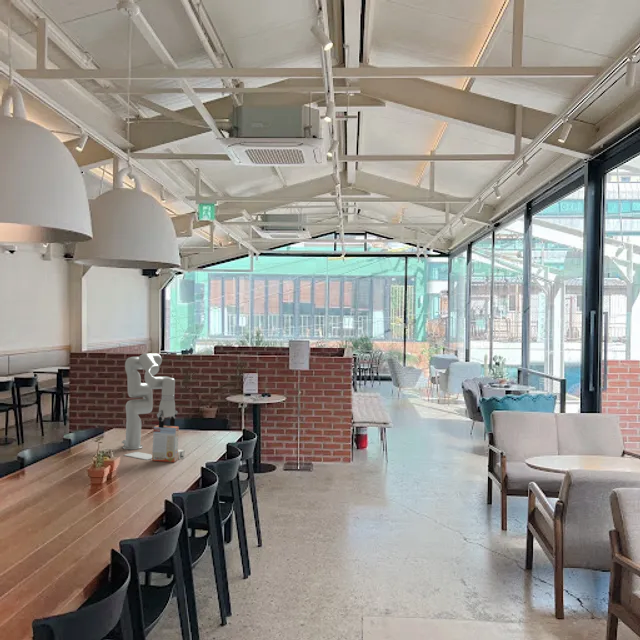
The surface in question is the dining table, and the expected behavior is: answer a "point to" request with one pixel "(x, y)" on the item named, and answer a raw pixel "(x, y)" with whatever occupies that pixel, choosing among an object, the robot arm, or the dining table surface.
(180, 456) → the off-white cubic block
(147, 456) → the white mat
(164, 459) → the cracker box
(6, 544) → the dining table surface
